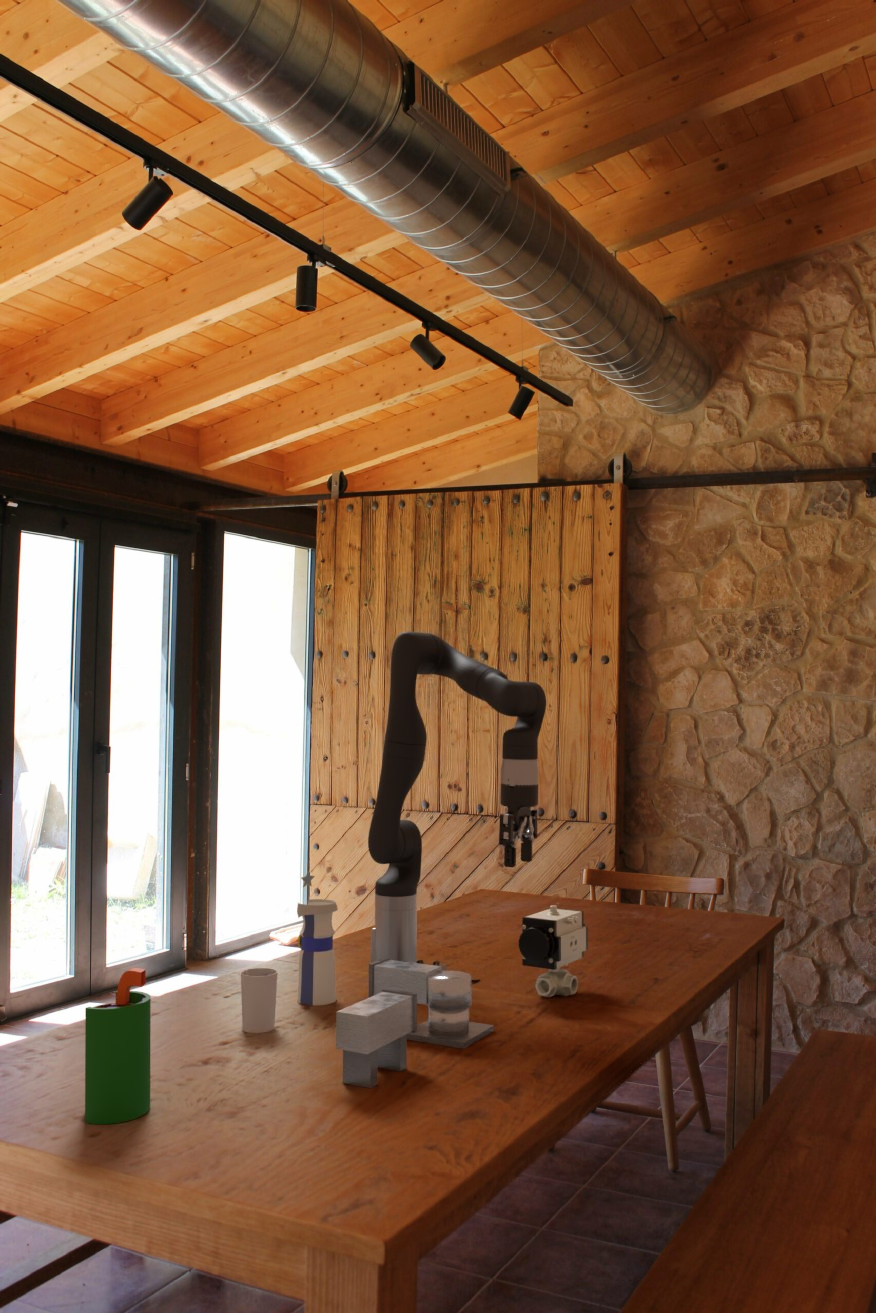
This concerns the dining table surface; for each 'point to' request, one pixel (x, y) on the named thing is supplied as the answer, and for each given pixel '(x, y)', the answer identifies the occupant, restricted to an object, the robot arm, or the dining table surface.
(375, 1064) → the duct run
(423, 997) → the elbow
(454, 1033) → the duct stub
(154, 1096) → the dining table surface
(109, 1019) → the green container with spout
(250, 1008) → the white cup
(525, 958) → the ball valve
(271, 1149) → the dining table surface
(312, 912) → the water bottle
